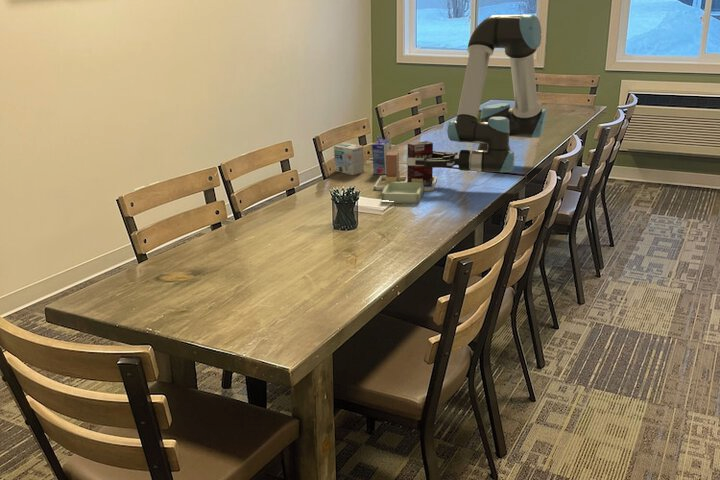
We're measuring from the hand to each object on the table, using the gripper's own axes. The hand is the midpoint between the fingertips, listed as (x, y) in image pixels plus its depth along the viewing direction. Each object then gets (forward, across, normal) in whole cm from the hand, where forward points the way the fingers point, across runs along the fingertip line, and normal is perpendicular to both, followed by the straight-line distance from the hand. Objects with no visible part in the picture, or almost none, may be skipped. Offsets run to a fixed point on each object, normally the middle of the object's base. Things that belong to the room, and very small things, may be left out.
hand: (409, 158), depth 254 cm
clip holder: (+1, 0, -10) cm, 10 cm away
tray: (-1, -16, -10) cm, 19 cm away
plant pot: (-17, +98, -10) cm, 100 cm away
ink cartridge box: (+15, +17, -10) cm, 25 cm away
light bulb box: (+28, +15, -10) cm, 34 cm away
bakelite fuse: (+6, -1, -10) cm, 12 cm away
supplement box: (-4, 0, -10) cm, 11 cm away
